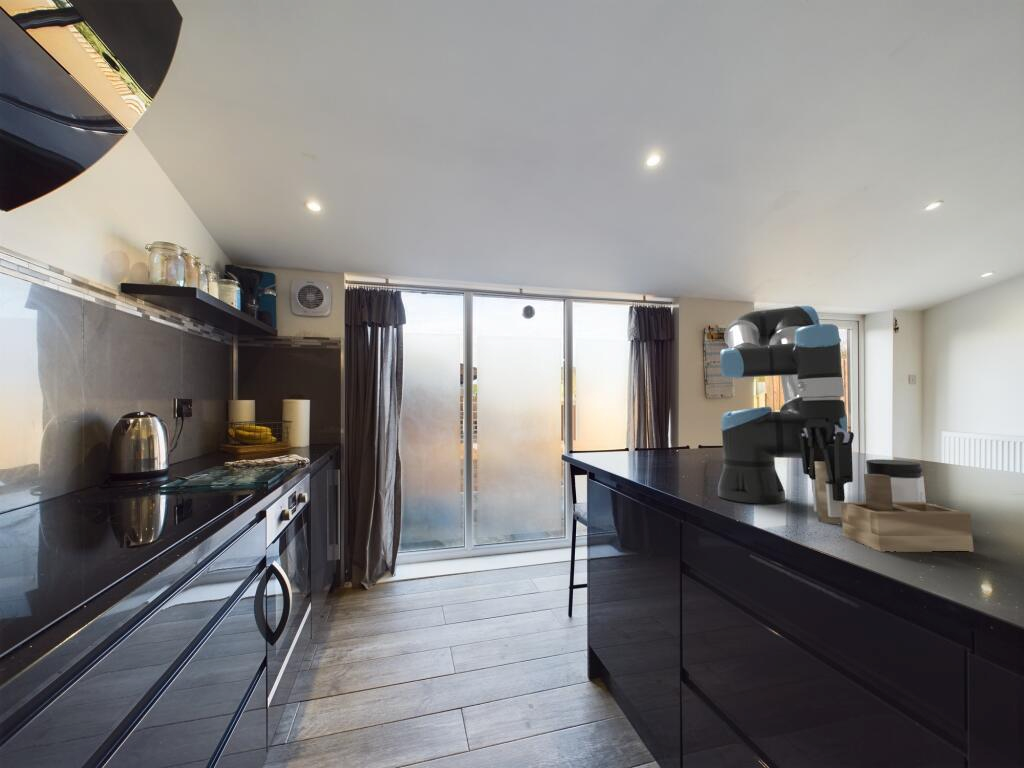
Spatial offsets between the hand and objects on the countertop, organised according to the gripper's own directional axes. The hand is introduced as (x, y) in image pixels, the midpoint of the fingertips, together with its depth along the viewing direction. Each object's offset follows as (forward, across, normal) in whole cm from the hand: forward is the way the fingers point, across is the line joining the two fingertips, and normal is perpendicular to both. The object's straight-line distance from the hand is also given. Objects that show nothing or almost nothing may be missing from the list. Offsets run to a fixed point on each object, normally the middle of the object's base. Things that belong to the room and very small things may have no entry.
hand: (829, 513), depth 83 cm
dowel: (+2, 0, 0) cm, 2 cm away
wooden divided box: (+2, +14, +3) cm, 14 cm away
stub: (-1, +14, 0) cm, 14 cm away
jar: (+2, 0, +12) cm, 13 cm away
